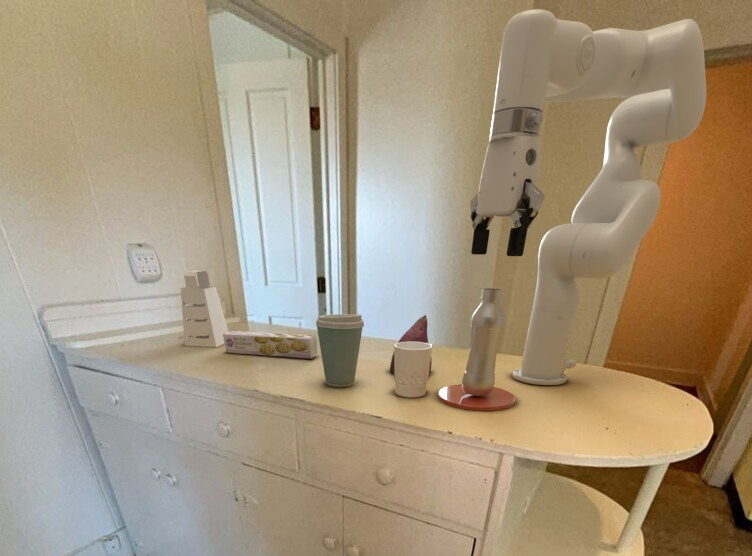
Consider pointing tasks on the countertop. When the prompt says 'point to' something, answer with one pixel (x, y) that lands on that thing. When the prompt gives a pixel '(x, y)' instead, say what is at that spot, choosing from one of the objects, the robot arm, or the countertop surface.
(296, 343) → the box
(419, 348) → the white cup
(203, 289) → the grater
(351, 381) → the disposable coffee cup
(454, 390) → the plate
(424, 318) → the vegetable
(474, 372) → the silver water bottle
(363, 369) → the countertop surface
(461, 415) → the countertop surface
